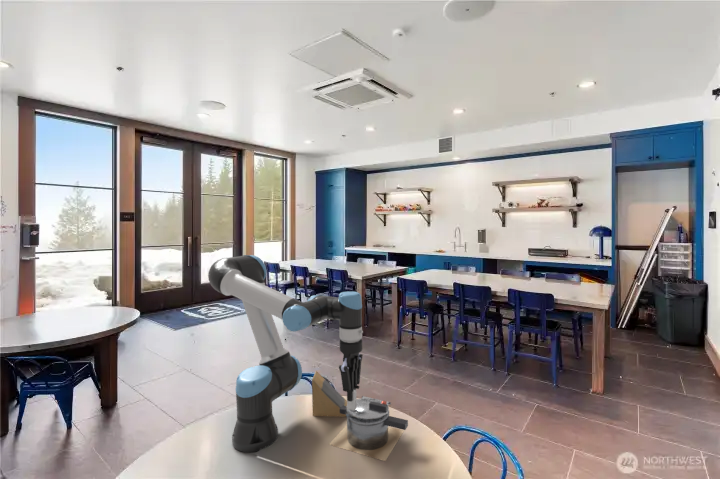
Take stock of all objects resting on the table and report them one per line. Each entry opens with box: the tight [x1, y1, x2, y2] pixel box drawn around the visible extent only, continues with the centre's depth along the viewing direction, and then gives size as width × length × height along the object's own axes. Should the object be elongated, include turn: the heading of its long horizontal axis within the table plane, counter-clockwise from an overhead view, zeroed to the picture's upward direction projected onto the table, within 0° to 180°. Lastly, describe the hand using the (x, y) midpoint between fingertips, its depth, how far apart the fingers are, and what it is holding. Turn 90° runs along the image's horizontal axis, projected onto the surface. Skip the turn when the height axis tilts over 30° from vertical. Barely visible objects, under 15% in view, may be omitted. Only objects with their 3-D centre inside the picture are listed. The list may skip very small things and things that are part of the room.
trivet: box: [328, 424, 405, 462], centre depth 126 cm, size 20×18×1 cm
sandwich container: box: [311, 370, 347, 418], centre depth 143 cm, size 9×15×15 cm, turn 87°
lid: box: [346, 395, 392, 420], centre depth 125 cm, size 14×15×3 cm
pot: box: [340, 405, 409, 450], centre depth 125 cm, size 24×16×9 cm, turn 64°
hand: (351, 408), depth 123 cm, fingers closed
